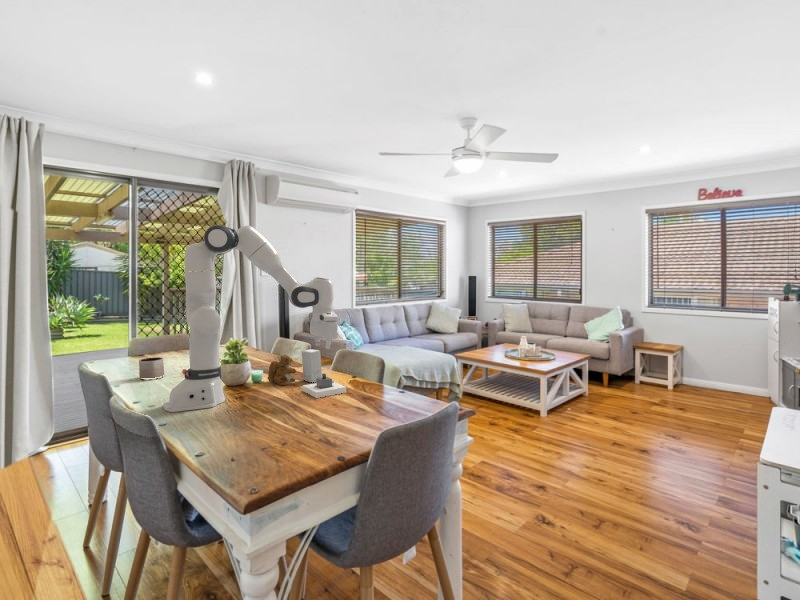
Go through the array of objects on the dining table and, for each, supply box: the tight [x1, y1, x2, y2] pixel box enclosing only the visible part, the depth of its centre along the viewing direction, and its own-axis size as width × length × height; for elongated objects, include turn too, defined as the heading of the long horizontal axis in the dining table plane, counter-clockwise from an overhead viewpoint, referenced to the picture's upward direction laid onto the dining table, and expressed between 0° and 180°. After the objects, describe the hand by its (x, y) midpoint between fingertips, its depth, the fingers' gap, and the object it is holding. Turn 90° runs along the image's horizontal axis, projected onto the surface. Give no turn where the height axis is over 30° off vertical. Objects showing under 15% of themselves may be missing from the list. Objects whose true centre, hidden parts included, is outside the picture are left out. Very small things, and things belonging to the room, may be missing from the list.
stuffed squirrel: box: [266, 354, 297, 387], centre depth 210 cm, size 10×14×13 cm
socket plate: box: [302, 379, 347, 399], centre depth 193 cm, size 14×14×3 cm
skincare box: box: [301, 348, 323, 384], centre depth 213 cm, size 8×6×15 cm
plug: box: [316, 373, 333, 389], centre depth 193 cm, size 5×5×8 cm
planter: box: [138, 356, 165, 379], centre depth 223 cm, size 11×11×10 cm
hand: (322, 347), depth 192 cm, fingers open, 8 cm apart
